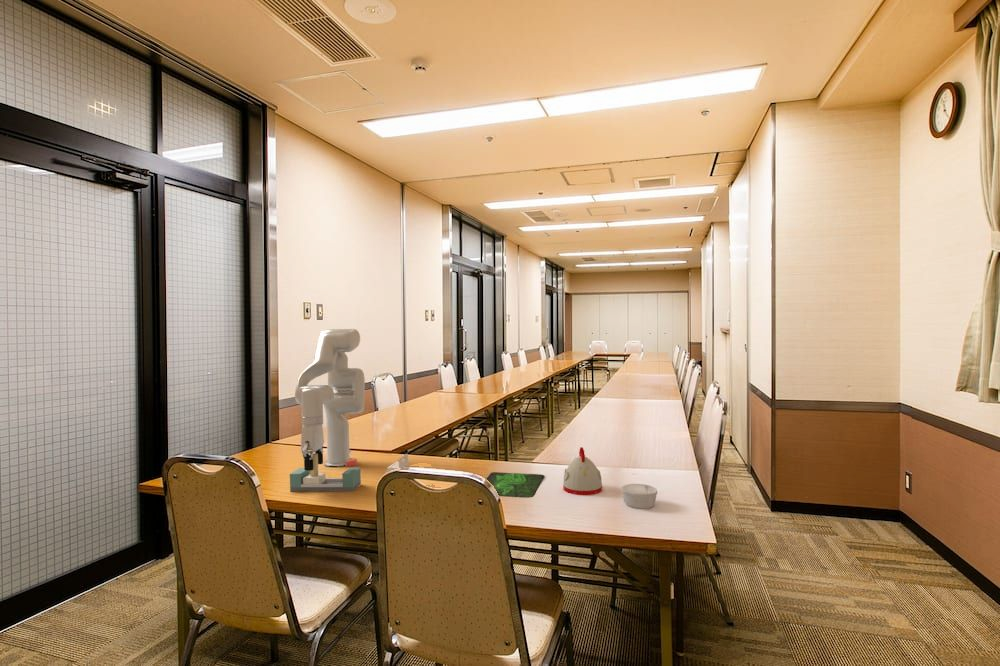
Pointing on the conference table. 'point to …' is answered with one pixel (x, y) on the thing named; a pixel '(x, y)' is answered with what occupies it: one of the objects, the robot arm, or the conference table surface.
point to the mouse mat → (515, 484)
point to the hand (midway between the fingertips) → (313, 466)
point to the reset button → (351, 463)
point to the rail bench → (326, 481)
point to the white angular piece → (399, 463)
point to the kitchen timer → (582, 477)
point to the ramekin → (639, 496)
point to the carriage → (314, 473)
